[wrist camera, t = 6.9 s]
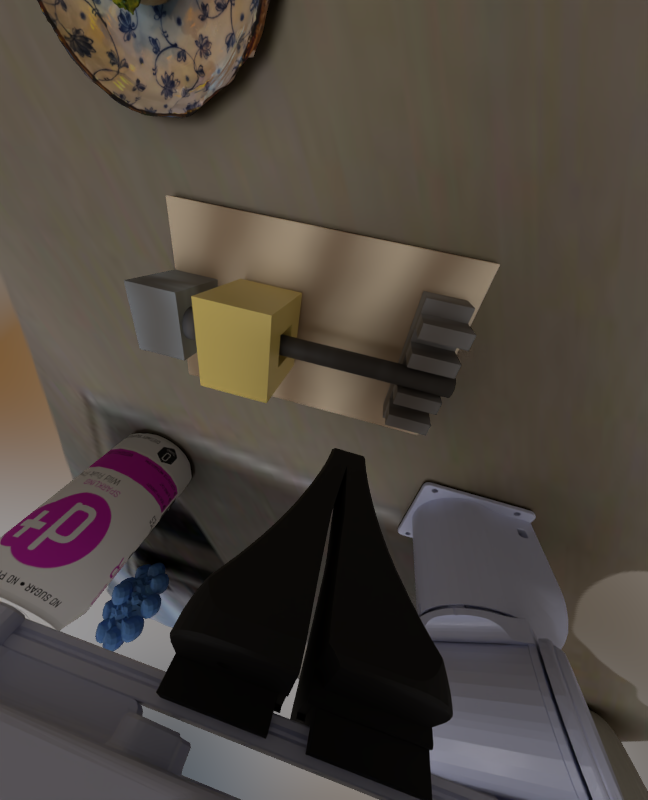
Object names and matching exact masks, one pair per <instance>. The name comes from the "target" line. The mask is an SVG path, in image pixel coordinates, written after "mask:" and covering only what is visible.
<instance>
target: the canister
mask: <svg viewBox="0 0 648 800" xmlns="http://www.w3.org/2000/svg"><path fill="white" fill-rule="evenodd" d="M589 711H590V714H591V716H592V719H593V721H594V723H595V726H596V728H597V731H598V733H599V736H600V738H601V741H602V744H603V746H604V749H605V751H606V754H607V756H608V759H609V761H610V764H611V766H612V769H613V772H614V774H615V777H616V779H617V782H618V785H619V787H620V790H621V793H622V795H623V798H624V800H648V791H647V789H646V787H645V785H644V784H643V782H642V780H641V778H640V776H639V774H638V772H637V770H636V769H635V767H634V765H633V763H632V761H631V759H630V757H629V756H628V754H627V752H626V750H625V748H624V747H623V745H622V743H621V741H620V740H619V738H618V737H617V735H616V734H615V732H614V731H613V730H612V728H611V727H610V726H609V725H608V723H607V722H606V721H605V720H604V719H603V718H601V717H600V716H599V715H598V714H596V713H594V712H593V711H591V710H589Z"/></svg>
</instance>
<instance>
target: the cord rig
mask: <svg viewBox="0 0 648 800" xmlns="http://www.w3.org/2000/svg"><path fill="white" fill-rule="evenodd" d="M166 201H167V208H168V216H169V224H170V231H171V239H172V246H173V254H174V262H175V269H176V270H171V271H166V272H161V273H157V274H152V275H147V276H142V277H137V278H133V279H128V280H124V283H125V288H126V292H127V296H128V300H129V305H130V309H131V313H132V317H133V322H134V326H135V330H136V334H137V339H138V343H139V347H140V349H143V350H147V351H151V352H154V353H158V354H162V355H166V356H169V357H173V358H177V359H181V360H186V359H187V360H188V368H189V374H191V375H195V376H199V377H200V374H199V364H198V355H197V346H196V336H195V327H194V318H193V308H192V299H191V296H193V295H196V294H199V293H202V292H204V291H207V290H210V289H213V288H216V287H218V286H221V285H224V284H227V283H230V282H233V281H235V280H238V279H244V280H248V281H253V282H257V283H261V284H266V285H270V286H274V287H279V288H283V289H287V290H292V291H296V292H300V293H302V299H301V307H300V316H299V325H298V333H297V338H295V337H291V336H287V335H283V334H281V335H280V348H279V355H281V356H285V357H289V358H293V359H294V366H293V367H292V369H291V370H290V371H289V373H288V374H287V376H286V377H285V378H284V380H283V381H282V383H281V384H280V385H279V387H278V388H277V389H276V391H275V392H274V394H273V395H272V396H273V397H277V398H281V399H284V400H288V401H292V402H296V403H299V404H303V405H307V406H310V407H314V408H318V409H322V410H325V411H329V412H333V413H337V414H340V415H344V416H348V417H351V418H355V419H359V420H363V421H366V422H370V423H374V424H377V425H381V426H385V427H389V428H392V429H396V430H400V431H404V432H407V433H411V434H415V435H418V434H422V435H425V436H426V434H427V432H428V430H429V428H430V426H431V424H430V418H429V413H431V414H435V415H436V414H437V412H438V410H439V408H440V406H441V404H442V402H441V398H440V396H443V397H446V398H449V397H450V396H451V395H452V393H453V391H454V388H455V385H456V378H455V377H456V375H457V373H458V371H459V369H460V367H461V364H460V362H459V359H458V357H457V353H458V351H459V349H463V350H467V351H469V349H470V347H471V345H472V343H473V341H474V339H475V337H476V334H475V333H474V331H473V330H472V329H471V327H470V326H471V324H472V322H473V320H474V318H475V315H476V313H477V311H478V309H479V307H480V305H481V303H482V301H483V299H484V297H485V295H486V293H487V291H488V289H489V286H490V284H491V282H492V280H493V278H494V276H495V274H496V272H497V270H498V268H499V266H500V265H499V264H497V263H493V262H489V261H484V260H479V259H474V258H469V257H465V256H460V255H455V254H450V253H445V252H441V251H436V250H431V249H426V248H421V247H417V246H412V245H407V244H402V243H397V242H392V241H388V240H383V239H378V238H373V237H368V236H364V235H359V234H354V233H349V232H344V231H340V230H335V229H330V228H325V227H320V226H316V225H311V224H306V223H301V222H296V221H291V220H287V219H282V218H277V217H272V216H267V215H263V214H258V213H253V212H248V211H243V210H239V209H234V208H229V207H224V206H219V205H215V204H210V203H205V202H200V201H195V200H190V199H186V198H181V197H176V196H169V195H166Z"/></svg>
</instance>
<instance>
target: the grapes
mask: <svg viewBox="0 0 648 800" xmlns="http://www.w3.org/2000/svg"><path fill="white" fill-rule="evenodd" d="M168 584H169V578H168V575H167V574H165V566H164V564H163V563H161V562H160V563H155V564H153V565H149V564H147V565H143V566H141V567H139V568H138V569H137V571H136V574H135V578H134V577H131V578H127V579H125V580H123V581H122V582H121V583H120V584H118V585H117V586H115V588H114V590H113V593H112V600H110V601H108V602H107V603H106V604H105V606H104V609H103V615H102V616H103V619H104V620H103V621H102V622H101V623H99V625H98V627H97V631H96V636H95V637H96V640H97V642H99V643H103V648H105V649H107V650H110V651H115V650H116V649H118V648H119V647H120V646H121V645H122V644H123V643H124V642H131V641H133V640H135V639H136V638H137V637H138V636H139V635H140V634H141V632H142V630H143V627H144V619H143V618H145V619H147V618H151V617H152V616H154V615H155V614H156V613H157V612H158V611H159V609H160V605H161V598H160V595H159V594H161V593H163V592H164V591H165V590H166V589H167V587H168Z"/></svg>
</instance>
